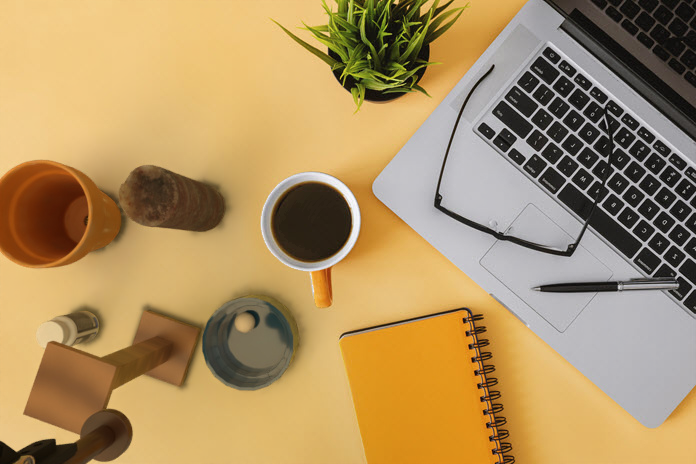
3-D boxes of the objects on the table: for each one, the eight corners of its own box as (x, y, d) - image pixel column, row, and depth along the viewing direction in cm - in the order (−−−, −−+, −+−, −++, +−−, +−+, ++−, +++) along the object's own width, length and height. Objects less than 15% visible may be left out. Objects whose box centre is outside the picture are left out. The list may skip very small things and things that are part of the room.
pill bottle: (73, 308, 75) (35, 315, 67) (102, 313, 75) (68, 320, 66) (68, 339, 75) (30, 350, 67) (97, 343, 75) (62, 355, 66)
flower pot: (124, 163, 76) (73, 145, 63) (150, 249, 75) (104, 249, 62) (40, 191, 76) (-27, 178, 63) (65, 277, 75) (1, 282, 62)
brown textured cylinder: (237, 216, 75) (188, 202, 55) (198, 243, 75) (135, 239, 55) (210, 175, 75) (152, 147, 55) (172, 202, 75) (99, 184, 55)
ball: (253, 333, 73) (248, 337, 70) (235, 327, 73) (229, 330, 70) (259, 314, 73) (255, 317, 70) (241, 308, 73) (235, 310, 70)
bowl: (283, 392, 73) (276, 403, 68) (203, 364, 74) (189, 373, 68) (310, 310, 73) (305, 314, 68) (230, 283, 74) (219, 285, 69)
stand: (182, 384, 74) (94, 446, 50) (128, 365, 74) (16, 417, 51) (201, 328, 74) (122, 363, 51) (147, 309, 75) (44, 335, 51)
